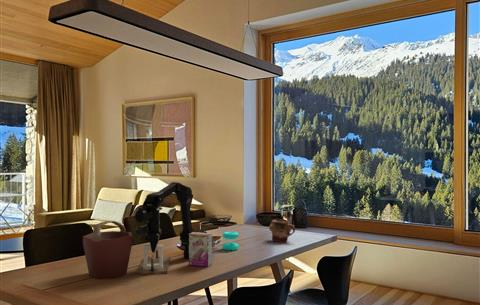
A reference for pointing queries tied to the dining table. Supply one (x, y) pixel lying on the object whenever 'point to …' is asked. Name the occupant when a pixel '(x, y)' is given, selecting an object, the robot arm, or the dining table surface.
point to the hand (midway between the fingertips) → (153, 251)
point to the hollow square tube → (160, 265)
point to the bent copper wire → (153, 259)
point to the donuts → (230, 245)
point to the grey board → (156, 261)
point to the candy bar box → (200, 249)
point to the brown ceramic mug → (281, 230)
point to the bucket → (107, 251)
